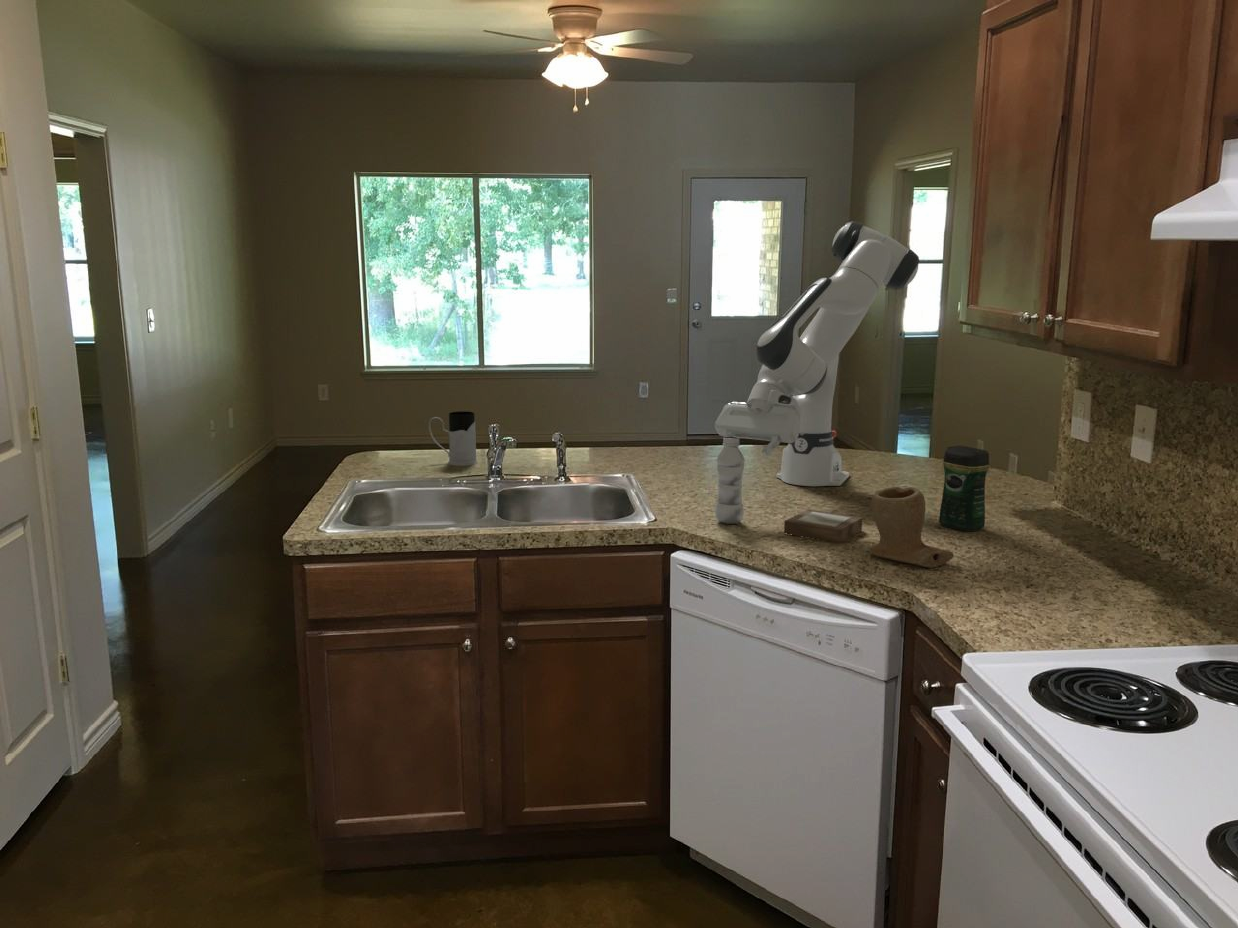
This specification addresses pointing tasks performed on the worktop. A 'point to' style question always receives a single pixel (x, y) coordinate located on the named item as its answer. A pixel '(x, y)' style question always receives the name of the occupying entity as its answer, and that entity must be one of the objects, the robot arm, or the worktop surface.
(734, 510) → the plastic bottle
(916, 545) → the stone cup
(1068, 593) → the worktop surface
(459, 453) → the grey and black mug
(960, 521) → the coffee jar
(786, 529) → the walnut slab
